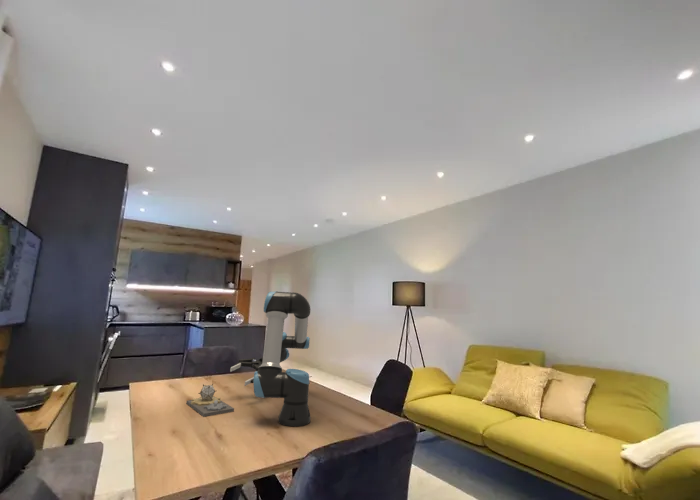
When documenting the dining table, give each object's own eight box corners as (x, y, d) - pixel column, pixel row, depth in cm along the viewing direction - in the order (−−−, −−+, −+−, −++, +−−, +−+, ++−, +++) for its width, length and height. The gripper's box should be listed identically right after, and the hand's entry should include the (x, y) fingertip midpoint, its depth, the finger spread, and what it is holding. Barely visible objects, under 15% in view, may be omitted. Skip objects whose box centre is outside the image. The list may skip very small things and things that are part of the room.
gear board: (233, 411, 168) (234, 401, 169) (203, 416, 158) (204, 405, 159) (214, 399, 187) (215, 390, 188) (186, 403, 177) (187, 393, 178)
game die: (207, 408, 175) (211, 395, 171) (193, 401, 175) (197, 388, 172) (217, 395, 183) (221, 383, 180) (203, 389, 184) (207, 376, 180)
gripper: (279, 378, 197) (250, 395, 180) (253, 356, 210) (224, 369, 193) (282, 368, 195) (252, 384, 178) (255, 346, 207) (225, 358, 190)
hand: (237, 376), depth 185 cm, fingers open, 13 cm apart
